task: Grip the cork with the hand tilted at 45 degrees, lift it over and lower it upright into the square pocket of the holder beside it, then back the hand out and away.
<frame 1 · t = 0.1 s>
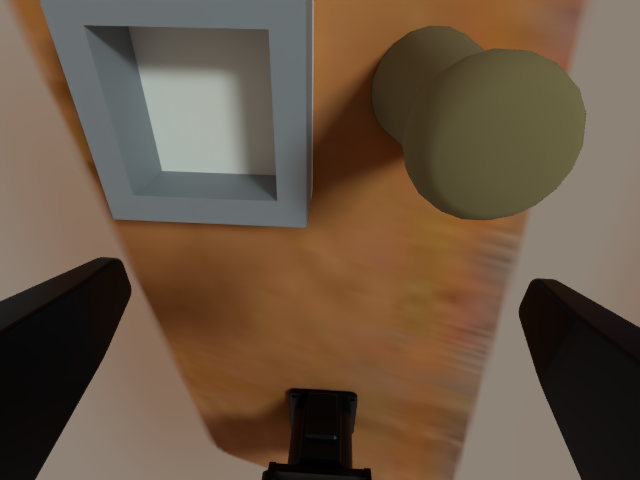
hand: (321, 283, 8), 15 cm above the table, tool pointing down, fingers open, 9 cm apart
cork: (426, 89, 19), on the table
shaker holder: (220, 103, 20), on the table
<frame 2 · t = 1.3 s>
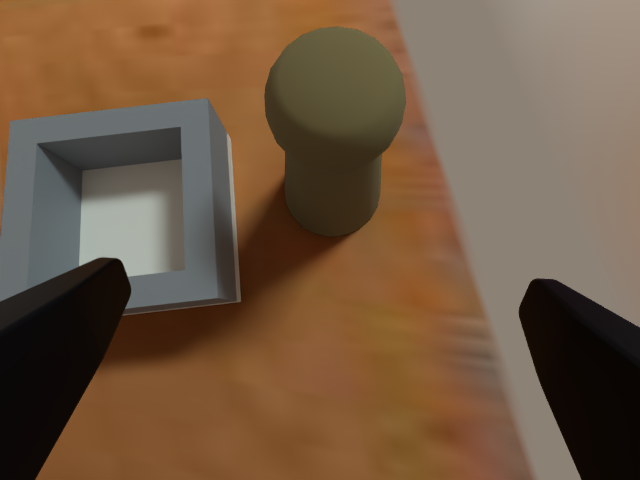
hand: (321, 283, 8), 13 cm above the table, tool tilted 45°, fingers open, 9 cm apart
cork: (332, 191, 22), on the table
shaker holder: (151, 226, 22), on the table
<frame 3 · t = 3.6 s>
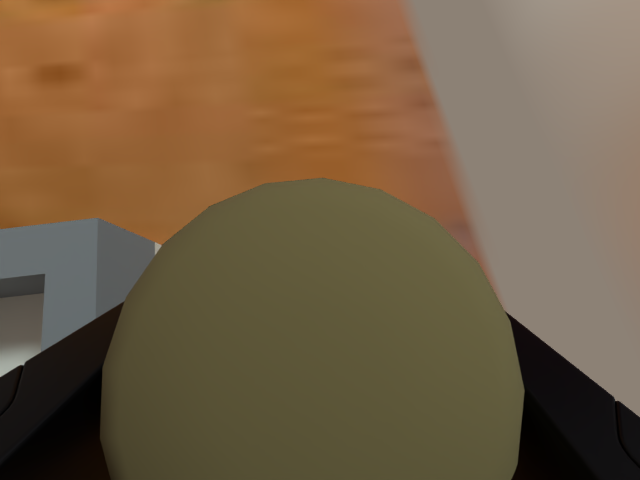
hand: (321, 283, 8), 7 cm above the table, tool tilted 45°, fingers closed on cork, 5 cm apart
cork: (323, 333, 14), on the table, touching gripper
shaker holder: (34, 394, 14), on the table
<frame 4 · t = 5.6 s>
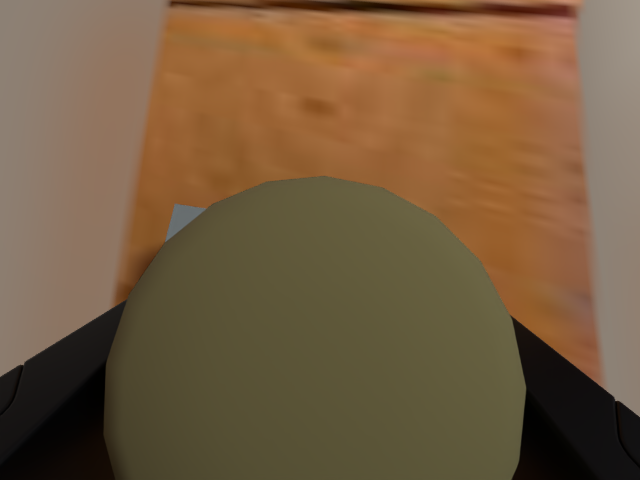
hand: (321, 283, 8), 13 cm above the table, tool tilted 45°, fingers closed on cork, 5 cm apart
cork: (324, 332, 14), point 6 cm above the table, touching gripper
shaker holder: (272, 326, 21), on the table
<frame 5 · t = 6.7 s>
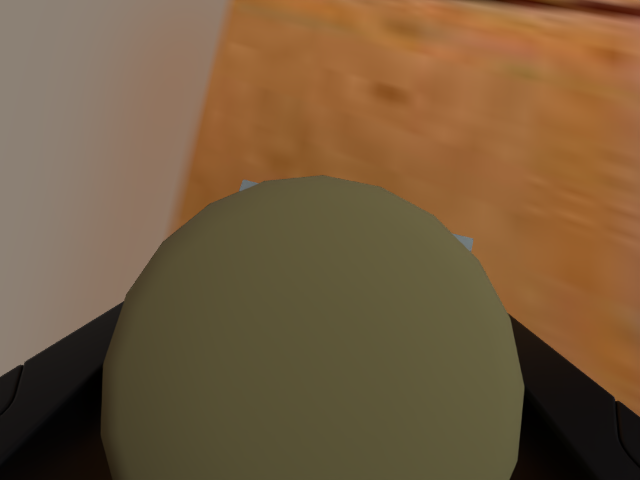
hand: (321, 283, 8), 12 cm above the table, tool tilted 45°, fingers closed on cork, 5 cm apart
cork: (324, 332, 14), point 5 cm above the table, touching gripper
when the fingers open (8 cm above the table, at t = 7.8 s): cork stays where it is, resting on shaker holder.
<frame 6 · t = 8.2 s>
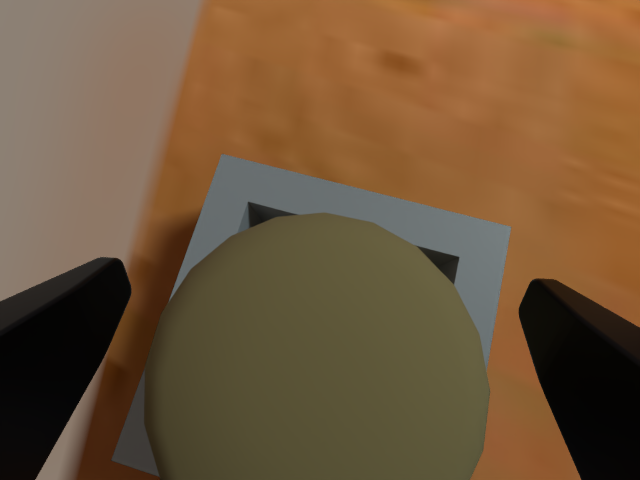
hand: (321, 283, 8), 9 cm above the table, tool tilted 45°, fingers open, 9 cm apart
cork: (324, 337, 15), point 1 cm above the table, touching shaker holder
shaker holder: (323, 331, 16), on the table
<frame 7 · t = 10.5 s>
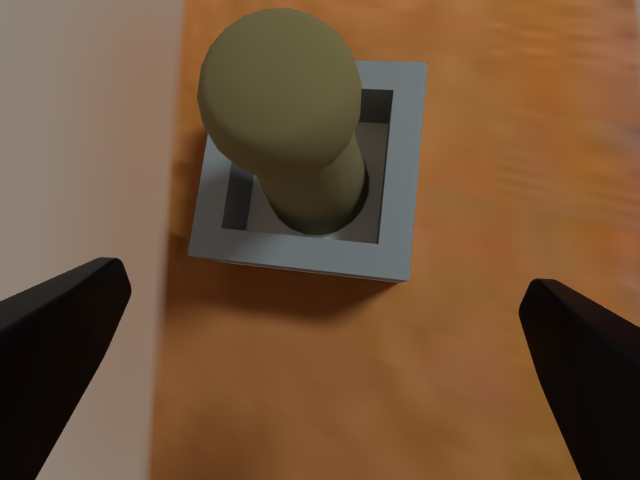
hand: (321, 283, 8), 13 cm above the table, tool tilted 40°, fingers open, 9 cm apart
cork: (317, 185, 21), point 1 cm above the table, touching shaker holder
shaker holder: (318, 186, 21), on the table
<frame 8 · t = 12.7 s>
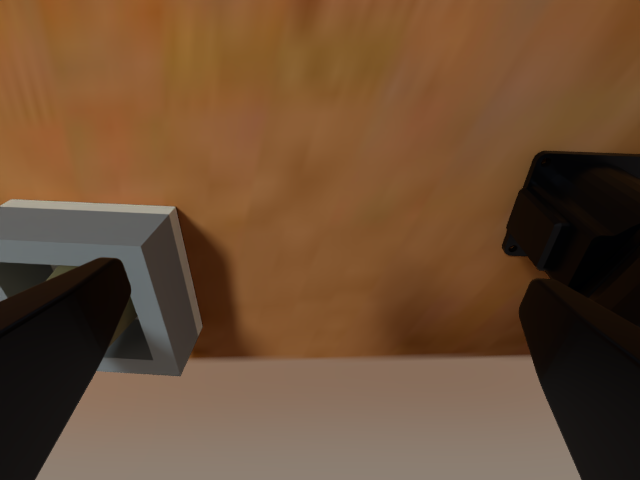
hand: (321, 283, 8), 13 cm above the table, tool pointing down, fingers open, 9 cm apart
cork: (113, 276, 24), point 1 cm above the table, touching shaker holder
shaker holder: (117, 269, 25), on the table
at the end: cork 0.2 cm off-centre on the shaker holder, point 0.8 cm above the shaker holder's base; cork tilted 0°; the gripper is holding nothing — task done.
